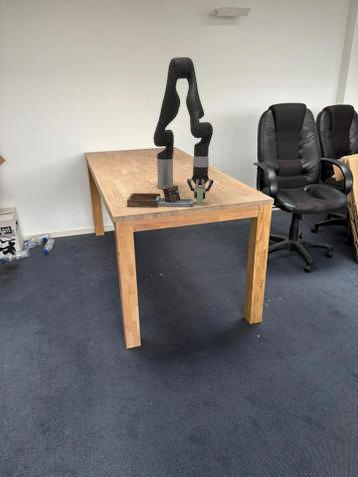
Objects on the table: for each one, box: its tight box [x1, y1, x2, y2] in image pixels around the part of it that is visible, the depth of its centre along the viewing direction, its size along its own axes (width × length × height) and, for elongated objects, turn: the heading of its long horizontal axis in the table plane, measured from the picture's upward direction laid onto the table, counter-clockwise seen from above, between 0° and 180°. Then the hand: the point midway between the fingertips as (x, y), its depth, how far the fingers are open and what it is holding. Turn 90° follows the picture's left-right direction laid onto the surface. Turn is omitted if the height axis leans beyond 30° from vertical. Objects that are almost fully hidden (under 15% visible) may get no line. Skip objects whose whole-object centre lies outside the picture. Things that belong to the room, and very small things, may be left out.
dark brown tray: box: [126, 192, 162, 209], centre depth 185 cm, size 14×15×4 cm
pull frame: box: [156, 185, 204, 208], centre depth 182 cm, size 9×24×9 cm, turn 86°
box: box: [162, 185, 181, 203], centre depth 183 cm, size 6×6×7 cm
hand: (199, 198), depth 183 cm, fingers closed on pull frame, 3 cm apart
